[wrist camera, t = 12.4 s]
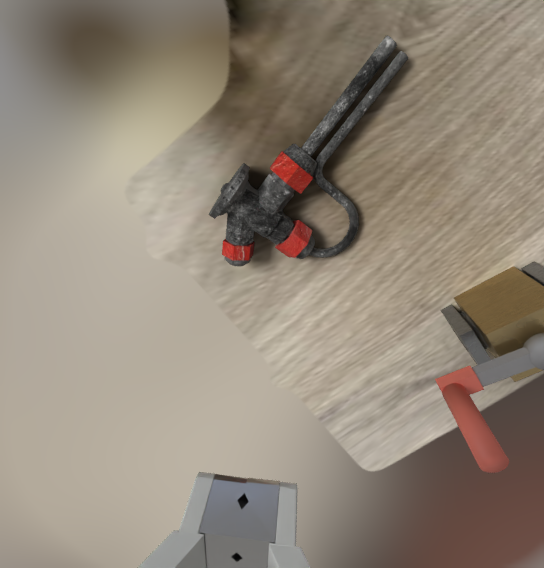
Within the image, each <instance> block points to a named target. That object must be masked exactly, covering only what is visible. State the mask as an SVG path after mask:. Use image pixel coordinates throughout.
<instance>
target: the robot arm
mask: <svg viewBox="0 0 544 568" xmlns="http://www.w3.org/2000/svg"><path fill="white" fill-rule="evenodd" d="M279 485H280V487H279ZM296 519H297V484H296V483H286V482H280V481H273V480H263V479H253V478H241V477H234V476H225V475H218V474H212V473H204V472H199V473H198V475H197V477H196V479H195V482H194V485H193V489H192V491H191V495H190V498H189V501H188V504H187V507H186V510H185V513H184V516H183V519H182V522H181V526H180V529H179V531H177V530H174V531H173V532H172V533H171V534H170V535H169V536H168V537H167V538H166V539H165V540H164V541H163V542H162V543H161V544H160V545H159V546H158V547H157V548H156V549H155V550H154V551H153V552H152V553H151V554H150V555H149V556H148V557H147V558H146V559H145V560H144V562H142V564H141V565H140V566H139V567H138V568H311V567H310V565H309V563H308V561H307V559H306V557H305V554H304V552H303V550H302V548H301V547H297V546H296V522H297V520H296Z"/></svg>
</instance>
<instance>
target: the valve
mask: <svg viewBox="0 0 544 568" xmlns="http://www.w3.org/2000/svg"><path fill="white" fill-rule="evenodd" d="M396 46H397V45H396V43H395V41H394V40H393V39H392V38H391V37H389V36H386V37H385V38H384V39H383V41H382V42H381V43H380V45H379V46H378V47H377V49H376V50H375V51H374V53H373V54H372V55H371V56H370V58H369V59H368V60H367V62H366V63H365V64H364V66H363V67H362V68H361V70H360V71H359V72H358V74H357V75H356V76H355V78H354V79H353V80H352V82H351V83H350V84H349V86H348V87H347V88H346V89H345V91H344V92H343V93H342V95H341V96H340V97H339V99H338V100H337V101H336V103H335V104H334V105H333V107H332V108H331V109H330V111H329V112H328V113H327V115H326V116H325V117H324V119H323V120H322V121H321V122H320V124H319V125H318V126H317V128H316V129H315V130H314V132H313V133H312V134H311V136H310V137H309V138H308V140H307V141H306V142H305V144H304V145H303V146H302V148H300V147H298V146H297V145H296V144H292V145H291V146H290V147H289V148H287V149H286V150H285V151H284V152H283V151H282V152H281V153H280V154H279V156H278V157H277V158H276V160H275V161H274V163H273V164H272V165H271V167H270V169H271V170H272V171H273V173H272V174H269V175H268V176H267V178H266V179H265V180H264V182H263V183H262V185H261V186H260V187H259V189H258V190H256V189H254V188H253V187H252V186H251V185H249V182H248V179H249V175H248V171H249V168H250V167H249V166H247V165H246V164H245V163H244V164H242V166H241V167H240V168H239V169H238V171H237V172H236V173H235V175H234V176H233V177H232V179H231V180H230V182H229V183H226V184H224V185H223V187H222V188H221V195H220V196H219V198H218V199H217V201H216V203H215V204H214V206H213V208H212V209H211V211H210V213H209V215H210V216H211V217H213V218H214V219H215V218H216V217H217V216H219V215H223V214H225V213H228V217H227V230H226V239H225V240H224V241H223V250H222V255H224V256H225V260H226V261H227V262H228V263H229V264H231V265H233V266H243V265H245V264H247V263H249V262H250V258H251V257H252V256H253V252H254V243H255V241H253V237H254V232H255V231H256V232H257V233H258V234H260V235H261V236H262V237H266V238H268V239H269V240H270V241H272V242H273V243H275V244H276V247H275V248H277V249H278V250H279V251H281V252H282V253H284V254H285V255H286V256H288V257H294V258H295V257H297V258H299V259H303V258H305V257H306V256H307V255H311V256H314V257H322V258H323V257H331V256H333V255H336V254H338V253H340V252H342V251H343V250H345V249H346V248H347V247H348V246H349V245H350V244H351V242H352V241H353V240H354V238H355V236H356V234H357V231H358V226H359V217H358V213H357V210H356V208H355V206H354V204H353V203H352V202H351V201H350V200H349V199H348V198H347V197H346V196H345V195H343V194H342V193H341V192H340V191H339V190H338V189H336V188H335V187H334V186H333V185H332V184H331V183H329V182H328V181H327V180H326V179H325V178H324V176H323V174H322V169H323V166H324V164H325V162H326V161H327V160H328V159H329V157H330V156H331V155H332V154H333V152H334V151H335V150H336V149H337V147H338V146H339V145H340V144H341V142H342V141H343V140H344V139H345V137H346V136H347V135H348V134H349V132H350V131H351V130H352V129H353V127H354V126H355V125H356V124H357V122H358V121H359V120H360V119H361V117H362V116H363V115H364V114H365V112H366V111H367V110H368V108H369V107H370V106H371V105H372V103H373V102H374V101H375V100H376V98H377V97H378V96H379V95H380V93H381V92H382V91H383V90H384V88H385V87H386V86H387V85H388V83H389V82H390V81H391V80H392V78H393V77H394V76H395V75H396V73H397V72H398V71H399V70H400V68H401V67H402V66H403V65H404V63H405V62H406V61H407V60H408V56H407V55H406V54H405V53H404V52H402V51H400V52H399V53H398V55H397V56H396V57H395V58H394V60H393V61H392V62H391V63H390V65H389V66H388V67H387V69H386V70H385V71H384V72H383V74H382V75H381V76H380V78H379V79H378V80H377V81H376V83H375V84H374V85H373V86H372V88H371V89H370V90H369V92H368V93H367V94H366V95H365V97H364V98H363V99H362V101H361V102H360V103H359V104H358V106H357V107H356V108H355V109H354V111H353V112H352V113H351V115H350V116H349V117H348V118H347V120H346V121H345V122H344V124H343V125H342V126H341V127H340V129H339V130H338V131H337V132H336V134H335V135H334V136H333V138H332V139H331V140H330V141H329V143H328V144H327V145H326V147H325V148H324V149H323V150H322V152H321V153H320V154H319V155H318V157H317V159H316V160H314V159H312V158H311V156H312V155H313V153H314V152H315V151H316V150H317V148H318V147H319V146H320V144H321V143H322V142H323V141H324V139H325V138H326V137H327V135H328V134H329V133H330V132H331V130H332V129H333V128H334V126H335V125H336V124H337V123H338V121H339V120H340V119H341V117H342V116H343V115H344V114H345V112H346V111H347V110H348V108H349V107H350V106H351V105H352V103H353V102H354V101H355V99H356V98H357V97H358V96H359V94H360V93H361V92H362V90H363V89H364V88H365V87H366V85H367V84H368V83H369V81H370V80H371V79H372V77H373V76H374V75H375V74H376V72H377V71H378V70H379V68H380V67H381V66H382V65H383V63H384V62H385V61H386V59H387V58H388V57H389V56H390V54H391V53H392V52H393V50H394V49H395V48H396ZM312 175H313V177H314V179H315V182H316V183H317V184H318V185H319V187H321V188H322V189H323V190H324V191H325V192H327V193H328V194H329V195H330V196H331V197H333V198H334V199H335V200H336V201H337V202H339V203H340V204H341V205H342V206H343V207H344V208H345V209H346V211H347V213H348V215H349V219H350V225H349V230H348V232H347V234H346V236H345V237H344V239H343V240H342V241H341V242H340V243H339V244H337V245H335V246H334V247H331V248H327V249H317V248H314V245H315V240H314V238H313V237H312V236H311V233H312V230H311V229H310V228H309V227H307V226H306V225H305V224H304V223H302V222H301V221H300V220H295V221H292V219H290V218H289V217H288V216H287V215H285V214H284V213H283V208H284V207H285V206H286V205H287V203H288V202H289V201H290V200H291V198H292V197H293V196H294V195H295V194H294V192H295V190H296V191H298V192H299V193H300V194H301V193H302V192H303V190H304V189H305V188H306V187H307V185H308V184H309V183H310V182H311V180H312V179H313V177H312Z"/></svg>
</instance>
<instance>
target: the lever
mask: <svg viewBox="0 0 544 568" xmlns="http://www.w3.org/2000/svg"><path fill="white" fill-rule="evenodd" d="M535 367H537V368H538V369H541V370H544V333H539V334H536V335H534V336H532V337H530V338H529V339H528V340H527V341H526V342H525V343H524V345H523V348H520V349H518V350H515V351H513V352H510V353H508V354H505V355H503V356H500V357H498V358H495V359H492V360H490V361H487V362H485V363H482V364H480V365H477V366H475V367H472V368H471V366H467V367H465V368H462V369H460V370H457V371H455V372H452V373H450V374H447V375H445V376H442V377H440V378H437V379H435V380H436V382H437V384H438V386H439V388H440V390H441V391H442V395H443V397H444V399H445V401H446V403H447V405H448V407H449V409H450V410H451V412H452V414H453V416H454V418H455V420H456V422H457V424H458V426H459V428H460V430H461V432H462V434H463V436H464V438H465V440H466V442H467V444H468V445H469V448H470V450H471V451H472V453H473V455H474V457H475V459H476V461H477V463H478V465H479V467H480V469H481V470H483V471H485V472H490V473H495V472H499V471H501V470H504V469H505V468H506V467H507V466H508V464H509V460H508V458H507V456H506V454H505V453H504V451H503V450H502V448H501V446H500V445H499V443H498V441H497V440H496V438H495V436H494V435H493V433H492V432H491V430H490V428H489V427H488V425H487V424H486V422H485V420H484V418H483V417H482V415H481V414H480V412H479V410H478V409H477V407H476V405H475V404H474V402H473V400H472V399H471V397H470V396H469V395H470V394H473V393H475V392H478V391H481V390H484V389H483V387H484V386H486V385H489V384H492V383H494V382H497V381H500V380H502V379H505V378H508V377H511V376H513V375H516V374H519V373H521V372H524V371H527V370H529V369H532V368H535Z"/></svg>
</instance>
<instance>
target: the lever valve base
mask: <svg viewBox="0 0 544 568" xmlns="http://www.w3.org/2000/svg"><path fill="white" fill-rule="evenodd" d="M521 269H522V271H523V272H524V273H523V272H521V271H520V270H518V269H517V268H515V267H511V268H510V269H508V270H506V271H504V272H502V273H500V274H498V275H496V276H494V277H492V278H491V279H489V280H487V281H485V282H483V283H481V284H479V285H477V286H475V287H473V288H472V289H470V290H468V291H466V292H464V293H462V294H460V295H458V296H456V297H454V299H455V301H456V302H457V304H458V306H459V307H460V309H461V310H462V312H461V313H458V312H457V311H456V309H455V308H454V307H453V306H452V305H450V306H448V307H446V308H444V309H442V310H441V312H442V313H443V315H444V316H445V318H446V320H447V321H448V323H449V324H450V326H451V327H452V329H453V330H454V332H455V334H456V335H457V337H458V338H459V340H460V341H461V343H462V344H463V346H464V347H465V348H466V350H467V351H468V352H469V354H470V355H471V357H472V358H473V359H474V361H475V362H476V363H477V365H480V364H482V363H485V362H487V361H490V360H491V359H490V357H489V356H488V354H487V353H486V351H485V349H488V350H489V351H490V353H491V354H492V355H493V356H494V357H495V358H498V357H500V356H503V355H505V354H508V353H510V352H513V351H515V350H518V349H520V348H523V345H524V343H525V342H526V341H527V340H528V339H529V338H530V337H532V336H534V335H536V334H539V333H544V267H543V266H541V265H539V264H538V263H536V262H533V263H531V264H529V265H527V266H525V267H523V268H521ZM540 371H542V370H541V369H538V368H537V367H535V368H532V369H529V370H527V371H524V372H521V373H519V374H516V375H513V376H511V378H512V379H513V381H514V382H516V381H518V380H521V379H523V378H525V377H528V376H530V375H533V374H535V373H537V372H540Z"/></svg>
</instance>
